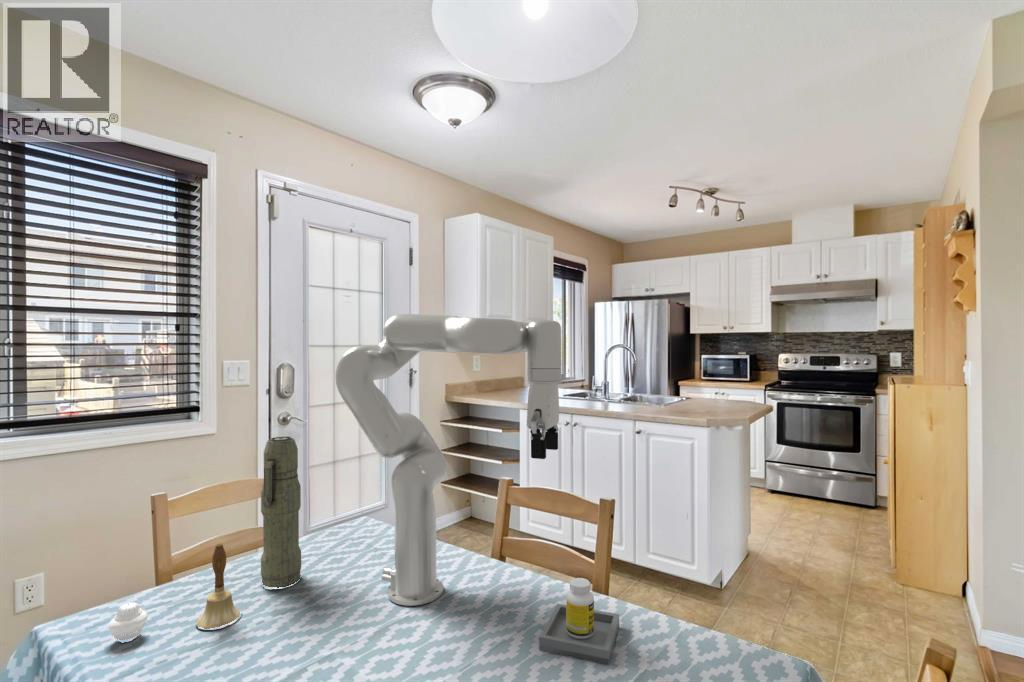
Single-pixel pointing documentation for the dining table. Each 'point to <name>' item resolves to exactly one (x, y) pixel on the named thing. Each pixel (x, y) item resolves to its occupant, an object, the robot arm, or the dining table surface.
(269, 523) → the thermos
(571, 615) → the supplement bottle
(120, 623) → the white tiered dome
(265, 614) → the dining table surface
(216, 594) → the hand bell
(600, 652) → the tray
